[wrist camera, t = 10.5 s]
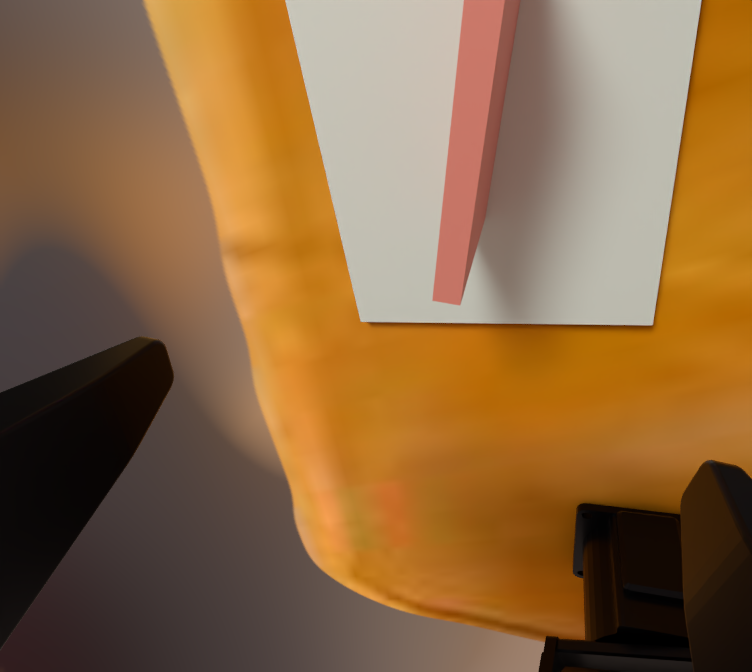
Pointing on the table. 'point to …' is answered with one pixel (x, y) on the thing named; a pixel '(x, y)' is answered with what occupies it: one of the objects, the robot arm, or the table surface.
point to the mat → (503, 154)
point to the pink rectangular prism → (473, 138)
